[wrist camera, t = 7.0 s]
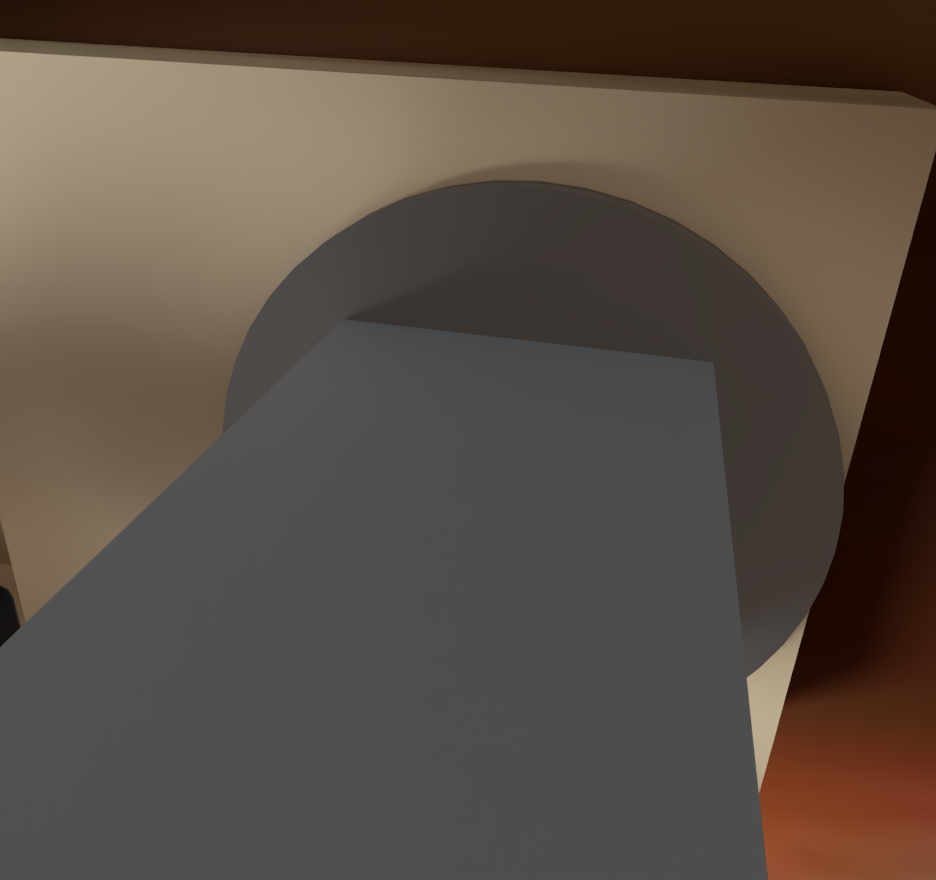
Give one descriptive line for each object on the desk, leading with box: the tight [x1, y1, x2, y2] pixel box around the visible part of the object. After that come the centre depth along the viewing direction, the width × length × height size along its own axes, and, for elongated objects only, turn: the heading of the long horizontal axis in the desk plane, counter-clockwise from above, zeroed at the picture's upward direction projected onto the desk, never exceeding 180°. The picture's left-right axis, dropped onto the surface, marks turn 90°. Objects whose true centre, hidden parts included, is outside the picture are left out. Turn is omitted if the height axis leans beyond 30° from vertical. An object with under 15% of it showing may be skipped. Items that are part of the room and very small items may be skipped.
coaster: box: [223, 180, 844, 677], centre depth 11 cm, size 8×8×1 cm
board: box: [0, 38, 936, 792], centre depth 13 cm, size 10×19×2 cm, turn 89°
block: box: [0, 319, 768, 880], centre depth 8 cm, size 4×4×8 cm
